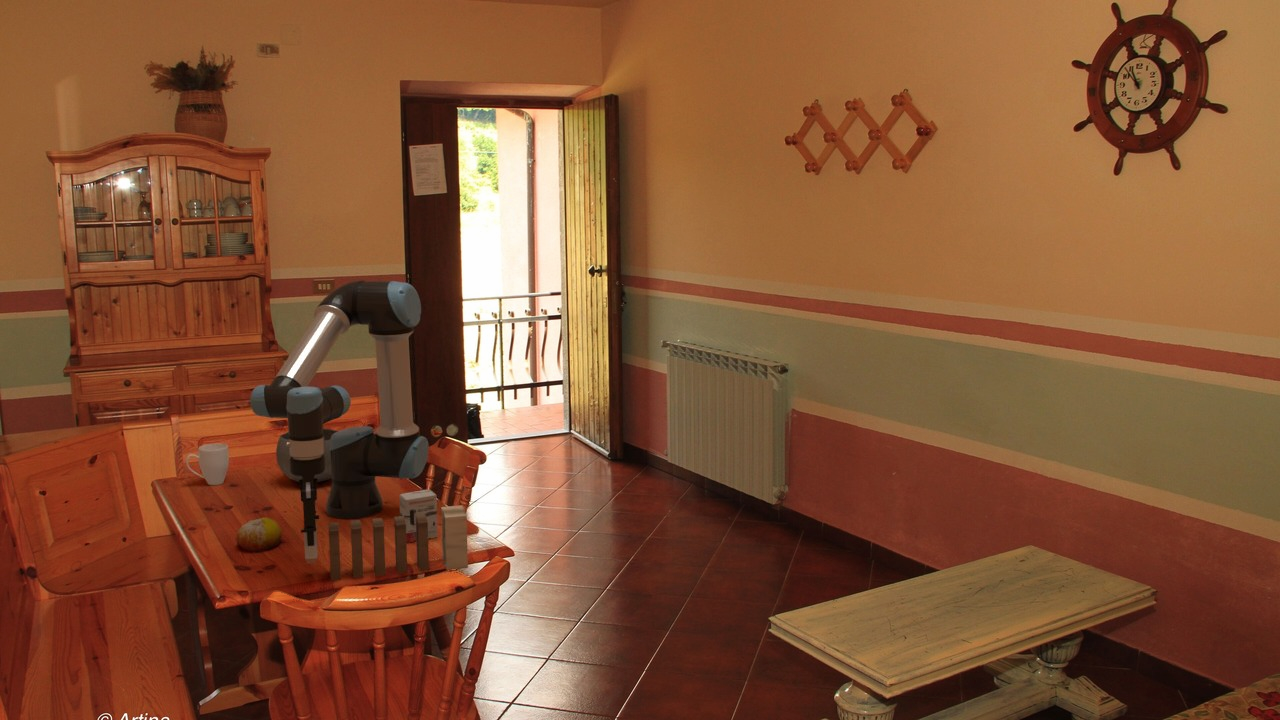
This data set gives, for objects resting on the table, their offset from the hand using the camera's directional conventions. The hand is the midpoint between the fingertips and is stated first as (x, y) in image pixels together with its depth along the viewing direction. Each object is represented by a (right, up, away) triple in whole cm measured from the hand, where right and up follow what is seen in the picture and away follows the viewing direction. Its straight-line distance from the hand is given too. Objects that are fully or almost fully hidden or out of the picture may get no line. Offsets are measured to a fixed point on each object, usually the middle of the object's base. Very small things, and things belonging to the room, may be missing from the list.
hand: (311, 552), depth 228 cm
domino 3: (+9, -6, +4) cm, 12 cm away
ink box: (+19, -2, +28) cm, 34 cm away
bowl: (-24, +7, +75) cm, 79 cm away
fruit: (-20, -3, +22) cm, 30 cm away
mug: (-54, +7, +71) cm, 89 cm away
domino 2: (+5, -6, +3) cm, 8 cm away
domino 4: (+14, -5, +6) cm, 16 cm away
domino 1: (0, -1, 0) cm, 1 cm away
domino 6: (+24, -5, +9) cm, 26 cm away
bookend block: (+31, -5, +11) cm, 33 cm away
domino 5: (+19, -5, +7) cm, 21 cm away
